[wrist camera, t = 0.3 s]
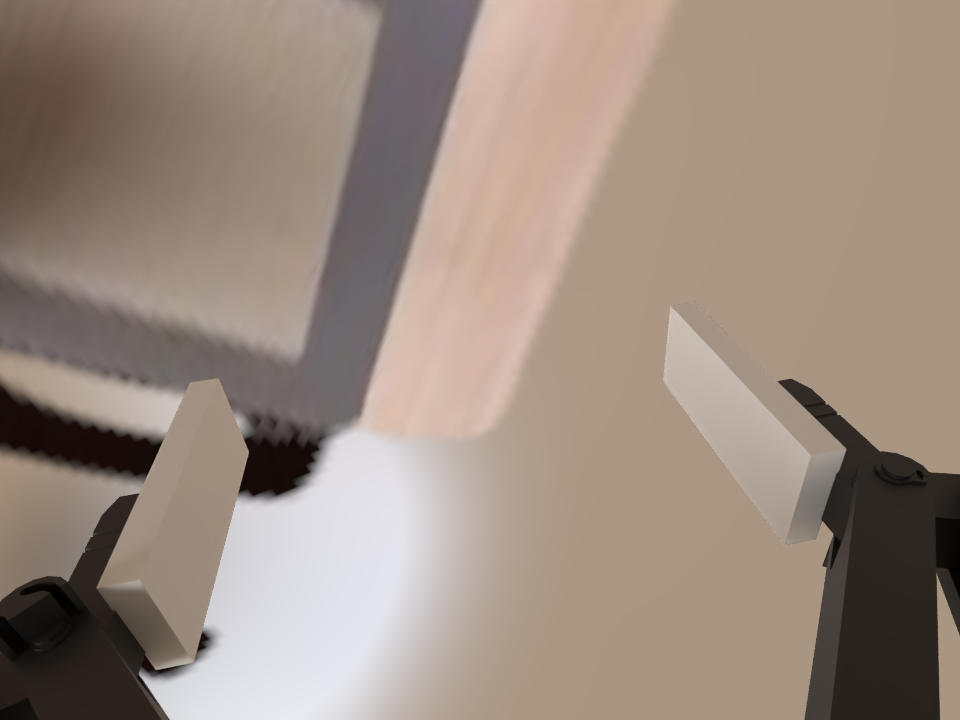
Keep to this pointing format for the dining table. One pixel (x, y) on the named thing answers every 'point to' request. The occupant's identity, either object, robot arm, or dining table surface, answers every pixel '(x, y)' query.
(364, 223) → the dining table surface
